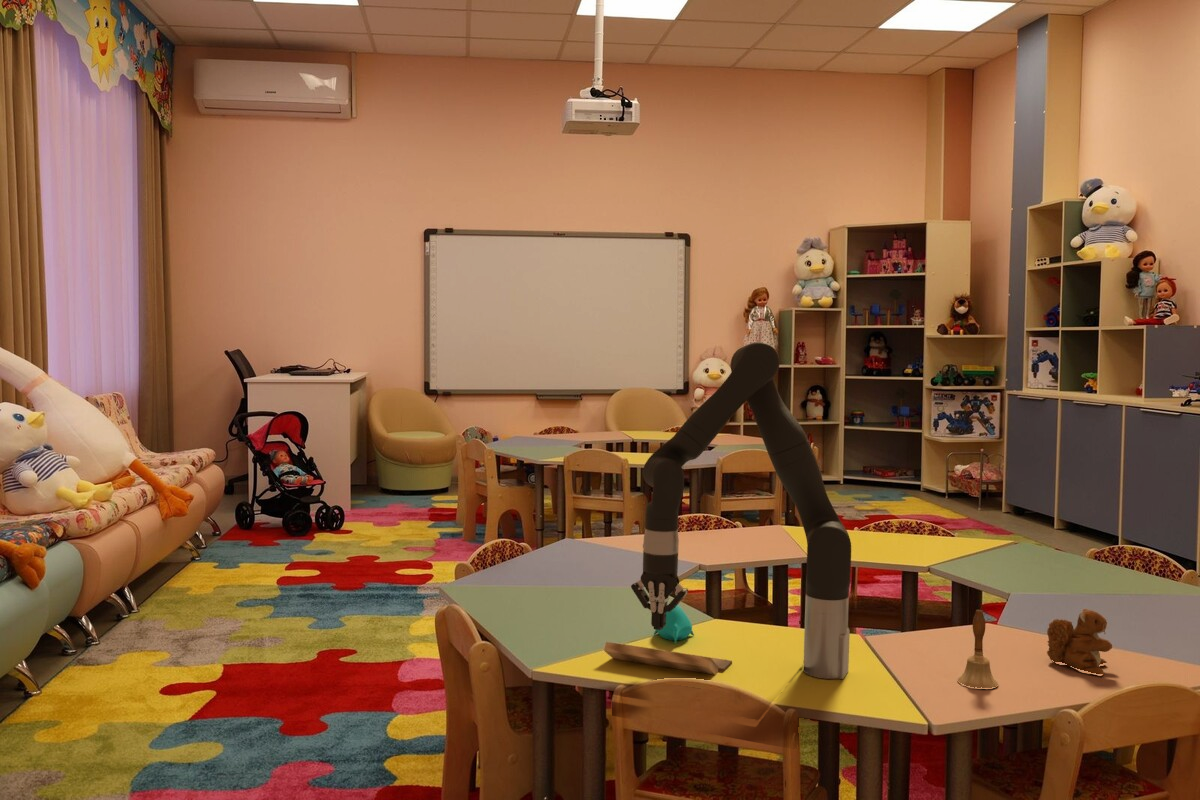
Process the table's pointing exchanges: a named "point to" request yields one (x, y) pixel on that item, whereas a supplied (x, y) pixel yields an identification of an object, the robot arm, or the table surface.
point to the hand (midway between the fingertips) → (658, 628)
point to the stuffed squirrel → (1079, 642)
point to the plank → (661, 658)
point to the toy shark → (676, 625)
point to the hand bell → (978, 659)
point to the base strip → (720, 662)
